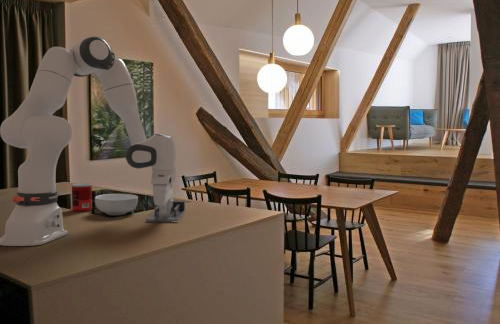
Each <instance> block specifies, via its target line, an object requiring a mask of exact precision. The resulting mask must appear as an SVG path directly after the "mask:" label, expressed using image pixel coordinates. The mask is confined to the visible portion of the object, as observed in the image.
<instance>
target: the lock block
mask: <svg viewBox="0 0 500 324" xmlns="http://www.w3.org/2000/svg"><path fill="white" fill-rule="evenodd" d="M173 201H174V198H173V197H172V198H171V199H170V200H169V201H168V206H167V213H166V214H161V207H160V206H159V216H171V215H172V214H173Z"/></svg>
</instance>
